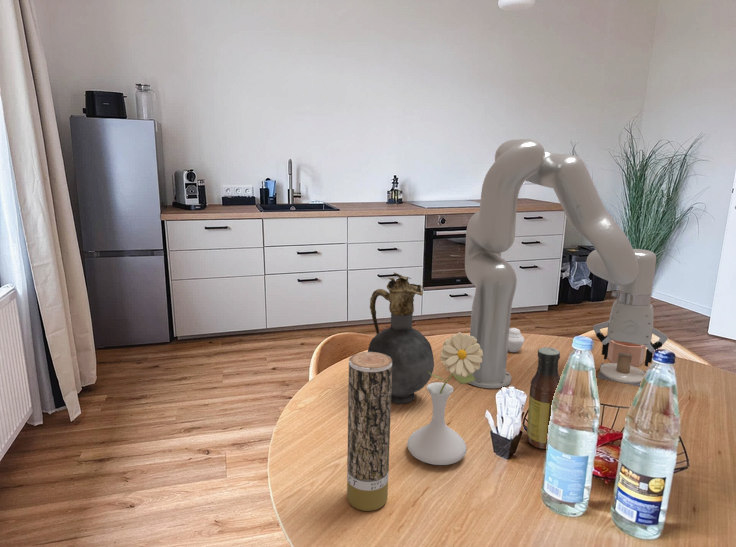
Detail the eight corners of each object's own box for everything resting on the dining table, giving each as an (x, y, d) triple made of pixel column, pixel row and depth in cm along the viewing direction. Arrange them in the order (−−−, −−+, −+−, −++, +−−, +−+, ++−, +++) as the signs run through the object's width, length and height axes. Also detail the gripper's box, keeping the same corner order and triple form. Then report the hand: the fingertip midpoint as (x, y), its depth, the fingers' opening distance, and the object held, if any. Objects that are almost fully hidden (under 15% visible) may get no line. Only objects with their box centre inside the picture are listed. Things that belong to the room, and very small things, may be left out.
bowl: (615, 367, 145) (618, 346, 143) (601, 354, 153) (604, 335, 152) (647, 368, 145) (651, 347, 143) (632, 355, 153) (635, 336, 152)
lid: (610, 383, 134) (613, 362, 132) (593, 365, 144) (595, 346, 143) (653, 384, 133) (656, 363, 132) (633, 366, 144) (635, 347, 143)
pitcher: (402, 416, 116) (408, 284, 109) (352, 385, 130) (354, 266, 123) (438, 403, 122) (445, 277, 115) (386, 374, 137) (390, 261, 130)
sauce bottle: (554, 435, 109) (564, 345, 105) (562, 452, 103) (573, 357, 99) (522, 433, 110) (531, 343, 105) (527, 450, 104) (537, 355, 99)
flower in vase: (403, 467, 97) (409, 339, 92) (409, 435, 108) (414, 319, 102) (475, 476, 95) (486, 345, 89) (474, 442, 106) (483, 324, 100)
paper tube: (386, 486, 92) (390, 352, 86) (388, 513, 85) (394, 369, 79) (346, 486, 91) (348, 351, 86) (346, 513, 85) (348, 368, 79)
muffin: (508, 355, 151) (510, 332, 150) (497, 347, 157) (499, 325, 156) (527, 353, 153) (529, 330, 151) (516, 345, 159) (518, 323, 157)
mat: (645, 389, 132) (645, 387, 132) (597, 379, 137) (597, 377, 136) (645, 373, 141) (645, 371, 141) (601, 364, 146) (601, 363, 146)
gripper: (595, 297, 134) (588, 359, 138) (673, 306, 127) (663, 373, 131) (598, 290, 141) (591, 350, 145) (672, 299, 133) (663, 362, 137)
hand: (625, 361), depth 138 cm, fingers open, 9 cm apart
